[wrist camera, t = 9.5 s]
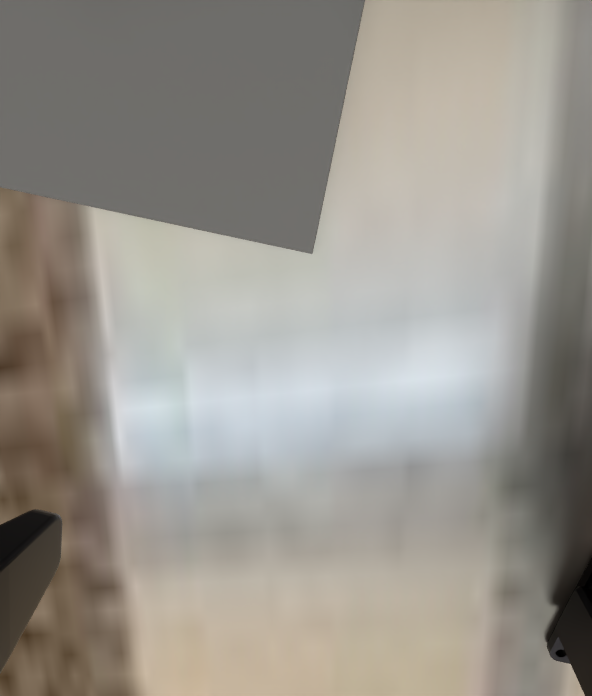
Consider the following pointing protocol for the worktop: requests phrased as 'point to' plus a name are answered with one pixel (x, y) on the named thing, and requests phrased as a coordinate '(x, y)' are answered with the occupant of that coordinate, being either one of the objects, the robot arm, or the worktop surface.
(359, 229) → the worktop surface
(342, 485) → the worktop surface
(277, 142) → the mat
